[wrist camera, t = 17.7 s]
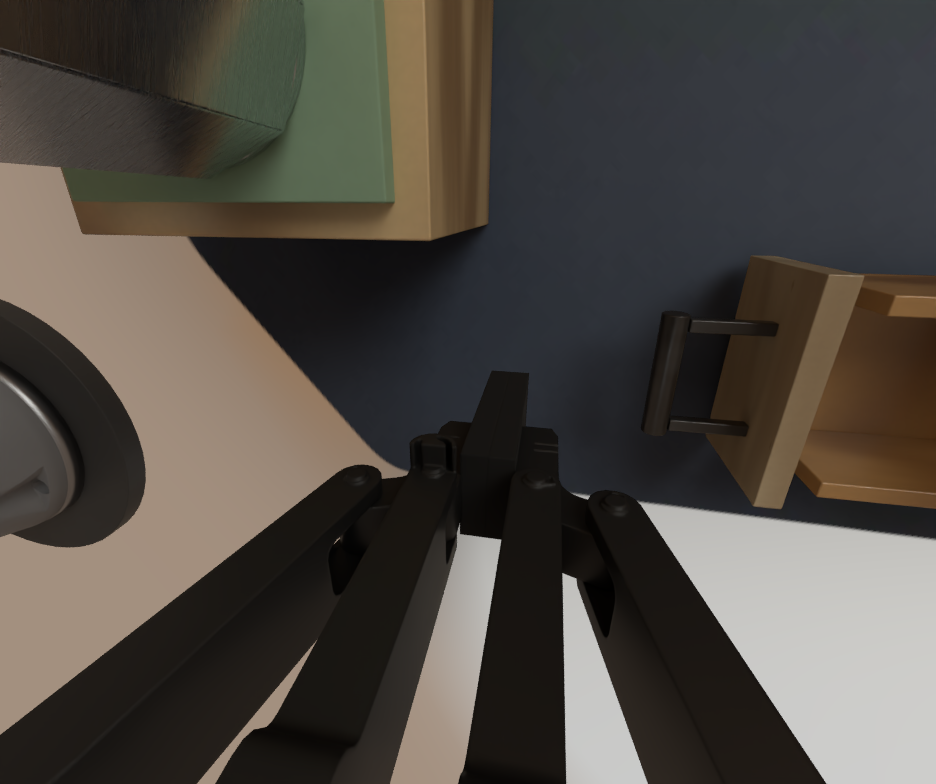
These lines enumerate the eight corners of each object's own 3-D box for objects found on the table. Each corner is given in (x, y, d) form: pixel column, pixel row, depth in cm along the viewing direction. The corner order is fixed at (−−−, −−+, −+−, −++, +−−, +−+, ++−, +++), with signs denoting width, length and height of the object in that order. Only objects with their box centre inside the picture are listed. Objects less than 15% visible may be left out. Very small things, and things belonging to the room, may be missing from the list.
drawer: (621, 429, 27) (643, 495, 21) (650, 253, 23) (688, 270, 17) (966, 457, 24) (1110, 544, 18) (1070, 262, 20) (1304, 287, 14)
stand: (291, 222, 26) (81, 234, 14) (261, 13, 22) (-62, -204, 11) (488, 224, 24) (430, 241, 13) (493, -3, 20) (416, -289, 9)
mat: (96, 201, 14) (71, 201, 13) (-11, -151, 11) (-51, -177, 10) (396, 203, 12) (386, 203, 12) (373, -208, 9) (358, -244, 8)
